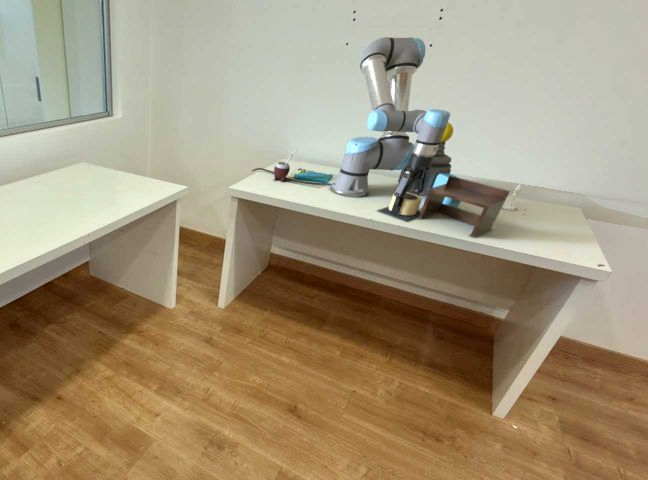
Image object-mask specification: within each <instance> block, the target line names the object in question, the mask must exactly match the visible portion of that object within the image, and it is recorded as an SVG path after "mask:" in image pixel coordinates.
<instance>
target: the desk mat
mask: <svg viewBox="0 0 648 480" xmlns="http://www.w3.org/2000/svg"><path fill="white" fill-rule="evenodd" d="M377 212H379V213H381V214H385V215H388V216H390V217H393V218H395V219H398V220H401V221H404V222H409V221H412V220H414V219H416V218H418V217H419V215H420V212H421V210H420V211H419V210H417V213H416V214H415V215H401V214H396V213H394V212H391V211H390V210H389V206H387V207H384V208H381V209H378V210H377Z"/></svg>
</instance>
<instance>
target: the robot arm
mask: <svg viewBox="0 0 648 480" xmlns="http://www.w3.org/2000/svg"><path fill="white" fill-rule="evenodd" d="M425 56H426V43H425V42H424V40H423V39H421V38H419V37H411V36H410V37H387V36H385V37H380V38H377V39H375V40H373V41H372V42H371V43H370V44H368V45H367V47H366V48H365V49H364V50H363V52H362V54H361V56H360V58H359V59H360V60H359V69H360V72H361V74H362V75H364V79H365V84H366V89H367V92H368V97H369V102H370V107H371V112H370V113H369V115H368V117H367V124H366V125H367V129H368V130H369V131H372V132H380V133H381V132H382V135H380V136H379V137H378V138H377V137H373V136H369V137H368V136H359V137H354V138H351V139H349V141H348V142H347V144H346V147H345V149H344V154H343V158H342V162H341V164H340V165H341V166H340V169H339V173H338V174H337V176H336V178H334V180H333V182H332V183H329V182H313V181H304V180H297V179H293V178H289V177H286V178H285V179H286V180H287V181H291V182H294V183H301V184H308V185H321V186H324V185H325V186H331V187H330V189H331V191H332V192H334V193H335V194H338V195H341V196H345V197H355V198H357V197H358V198H359V197H360V198H361V197H364V196H366V195H367V194H368V191H369V180H368V177H369V173H370V170H378V171H381V170H382V171H402V169H404V168H405V167H406V166H407V165H408V164H410V165H411V168H410V170H409V171H406V170H405V171H404V174H403V177H402V179H401V181H400V183H399V185H398V184H397V187H396V189H395V191H394V192H393V194H394V196H396V199H395V202H394V204H393V207H392V210H391V212H394V213H396V214H398V213H399V211H400V208H401V205H402V203H403V200H404V198H403V197H404V195H405V194H406V192H407V190H408V189H409V187H410V186H411V184H412V183H413V182H414V188H413V191H412V192H411V193H412V194H415V195H418V196H420V195H419V192H420V193H422V192H423V190H424V187H425V183H426V179H427V175H428V172H429V169H430V166H431V164H432V161H433V159H434V157H433V156H434V155H435V153H436V151H437V150H438V146H439V143H440V141H441V139H442V136H443V134H444V131H445V129H446V126H447V125H448V123H449V120H450V117H451V112H449V111H448V110H444V109H428V110H427V111H426V110H423V109H413V110H409V106H410V97H411V89H412V79H413V75H415V73H416V72H417V71H418V69H419V68H420V67H421V66H422V64H423V62H424V59H425ZM407 133H415V134H417V138H416V140H415V142H414V143H413V142H412V141H410V135H409V134H407ZM258 170H259V171H264V172H267V173H271V174H274V175H275V173H274V170H269V169H266V168H263V167H257V168H254V169H252V170H251V172H256V171H258ZM407 193H408V192H407Z"/></svg>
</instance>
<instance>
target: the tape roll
mask: <svg viewBox="0 0 648 480" xmlns="http://www.w3.org/2000/svg"><path fill="white" fill-rule="evenodd" d="M403 198H404V200H403V203H402V205H401V208H400V211H399V213H398V214H401V215H415V214H416V213H417V211H419V208H420V206H421V203H422V200H423V198H422V196H421V195H415V194H412V193H409V192H406V194H405V195H404V197H403ZM395 199H396V196H394V193H393V194H392V197H391V199H390V203H389V205H388V207H389V210H390V211H391V210H392V207H393V204H394V202H395Z"/></svg>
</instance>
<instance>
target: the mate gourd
mask: <svg viewBox="0 0 648 480" xmlns="http://www.w3.org/2000/svg"><path fill="white" fill-rule="evenodd" d="M297 152H299V150H297V149H296V150H295V151H294V152H292V153H290V155H289V156H288V159H287V161H286V162H285V161H279V162H276V164H275V165H274V169H273V172H274V173H275V174H274V173H273V174H274V179H273V181H274V182H275V181H280V182H282V183H284V182H285V180H286V179H285V178H287V176H289V173H290V170H291V168H290V167H291V166H290V164H289V161H290V160H291V158H292V157H293V155H295V154H296V153H297Z"/></svg>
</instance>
